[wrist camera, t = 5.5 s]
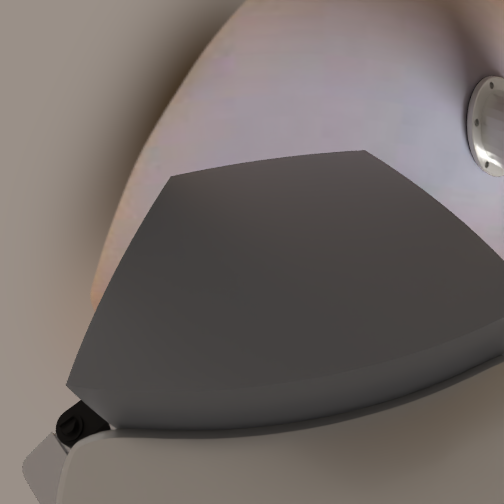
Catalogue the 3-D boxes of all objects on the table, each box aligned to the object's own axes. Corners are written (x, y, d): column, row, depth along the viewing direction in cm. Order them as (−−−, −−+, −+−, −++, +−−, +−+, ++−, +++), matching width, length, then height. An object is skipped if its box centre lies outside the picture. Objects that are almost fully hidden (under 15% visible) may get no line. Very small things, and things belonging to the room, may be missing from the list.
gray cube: (364, 150, 10) (537, 299, 3) (356, 294, 14) (416, 447, 7) (170, 176, 10) (66, 385, 3) (213, 316, 15) (206, 484, 7)
